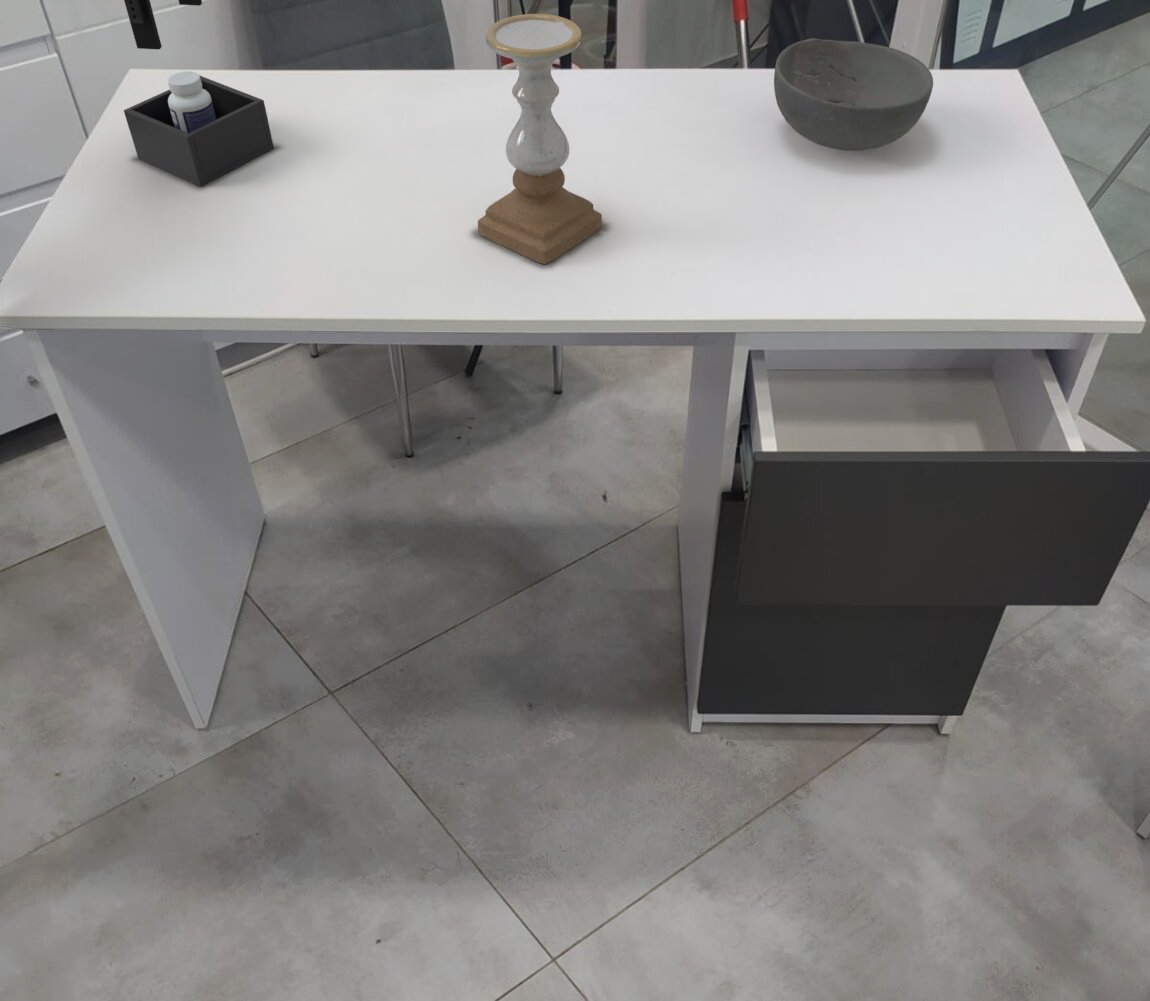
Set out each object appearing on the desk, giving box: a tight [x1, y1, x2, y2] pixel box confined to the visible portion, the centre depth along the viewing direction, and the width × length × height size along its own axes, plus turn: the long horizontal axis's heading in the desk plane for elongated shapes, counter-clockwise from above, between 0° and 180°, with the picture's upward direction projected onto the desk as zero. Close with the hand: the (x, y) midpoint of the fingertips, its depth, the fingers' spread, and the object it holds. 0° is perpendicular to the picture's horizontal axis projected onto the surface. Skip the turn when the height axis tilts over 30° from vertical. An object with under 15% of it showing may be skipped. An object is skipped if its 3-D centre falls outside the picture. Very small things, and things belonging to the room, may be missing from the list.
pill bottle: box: [167, 71, 216, 134], centre depth 144 cm, size 5×5×10 cm
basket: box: [123, 75, 275, 188], centre depth 146 cm, size 13×13×7 cm
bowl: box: [773, 38, 934, 152], centre depth 147 cm, size 20×20×10 cm
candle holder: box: [477, 13, 603, 265], centre depth 126 cm, size 11×11×24 cm
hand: (171, 25), depth 136 cm, fingers open, 13 cm apart
